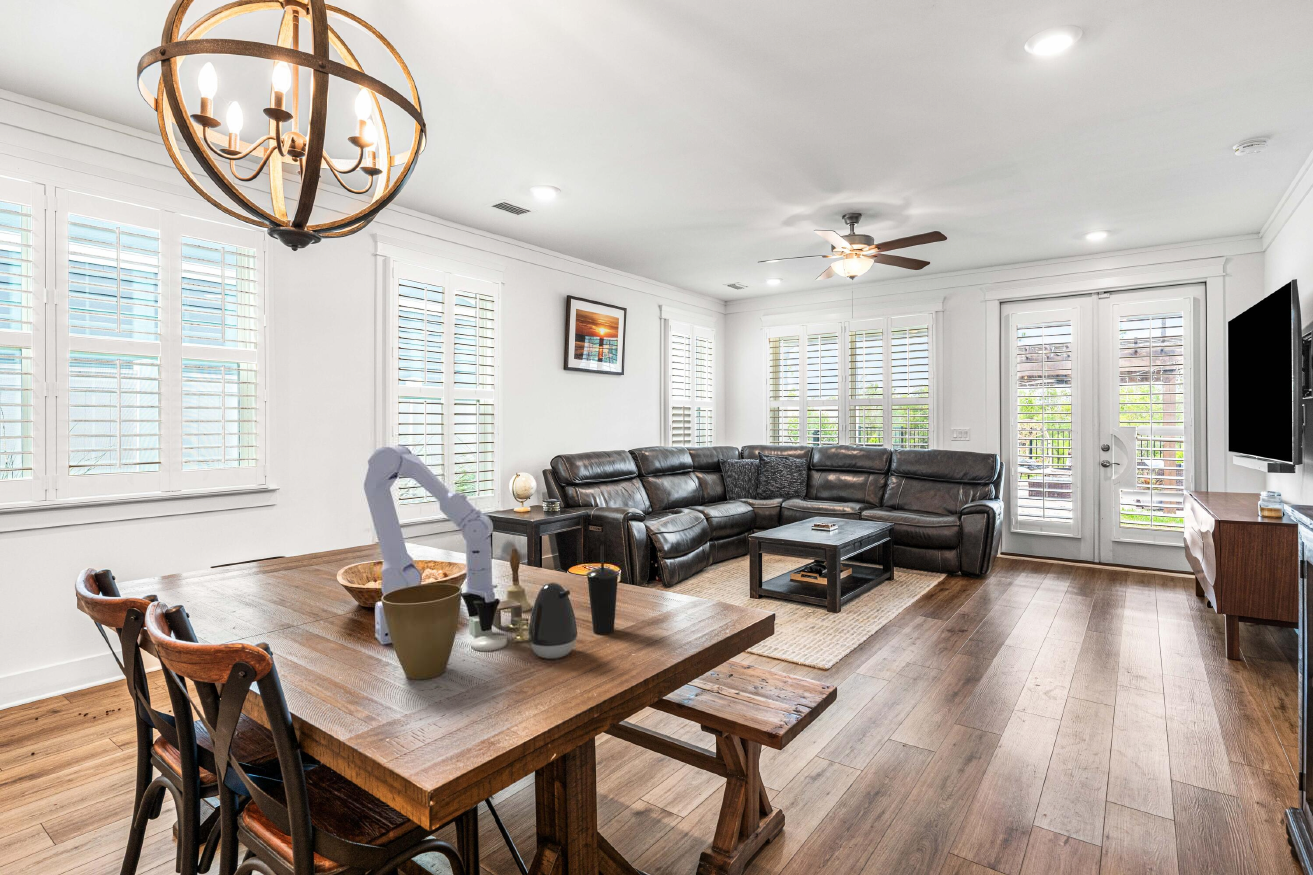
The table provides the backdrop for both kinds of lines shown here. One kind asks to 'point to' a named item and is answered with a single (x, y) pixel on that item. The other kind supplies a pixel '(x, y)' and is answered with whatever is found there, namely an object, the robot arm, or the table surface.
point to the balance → (519, 629)
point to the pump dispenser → (552, 623)
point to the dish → (489, 643)
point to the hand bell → (516, 584)
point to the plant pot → (423, 626)
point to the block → (477, 628)
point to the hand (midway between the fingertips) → (480, 626)
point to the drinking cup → (603, 597)
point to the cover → (503, 605)
